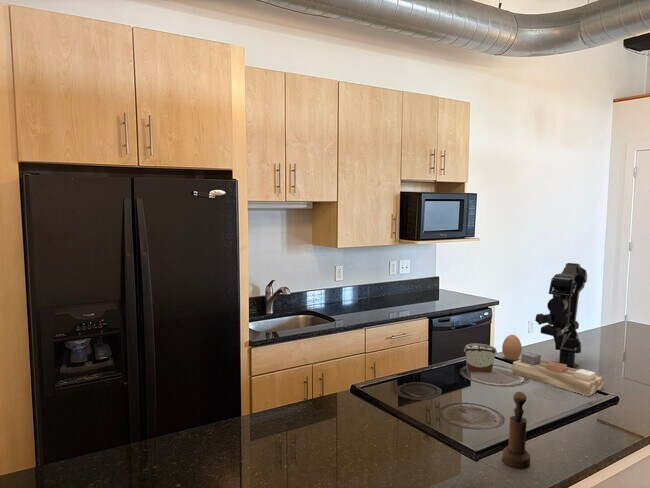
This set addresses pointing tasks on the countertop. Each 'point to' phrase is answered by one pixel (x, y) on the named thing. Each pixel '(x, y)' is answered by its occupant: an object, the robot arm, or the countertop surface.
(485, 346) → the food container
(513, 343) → the egg
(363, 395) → the countertop surface
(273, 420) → the countertop surface
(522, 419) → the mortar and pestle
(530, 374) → the key panel
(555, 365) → the terracotta key
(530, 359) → the charcoal key
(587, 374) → the cream key
